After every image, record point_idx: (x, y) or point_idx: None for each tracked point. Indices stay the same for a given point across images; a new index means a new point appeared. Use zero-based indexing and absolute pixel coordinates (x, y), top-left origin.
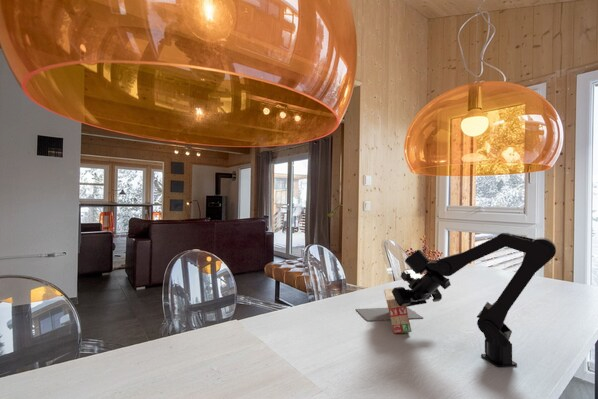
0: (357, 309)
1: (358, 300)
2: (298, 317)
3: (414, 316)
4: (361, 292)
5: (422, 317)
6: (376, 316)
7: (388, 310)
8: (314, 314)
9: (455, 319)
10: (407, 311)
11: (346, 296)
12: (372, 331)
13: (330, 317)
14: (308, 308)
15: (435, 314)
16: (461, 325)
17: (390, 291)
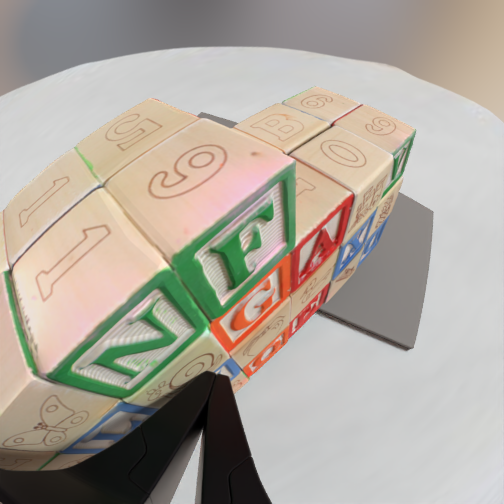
0: (202, 117)
1: (298, 80)
2: (30, 111)
3: (387, 314)
4: (360, 67)
5: (410, 345)
6: None
7: None
8: (66, 104)
9: (493, 409)
10: (403, 248)
11: (288, 55)
12: None
13: (68, 131)
14: (100, 73)
15: (480, 334)
16: (462, 468)
17: (70, 184)
